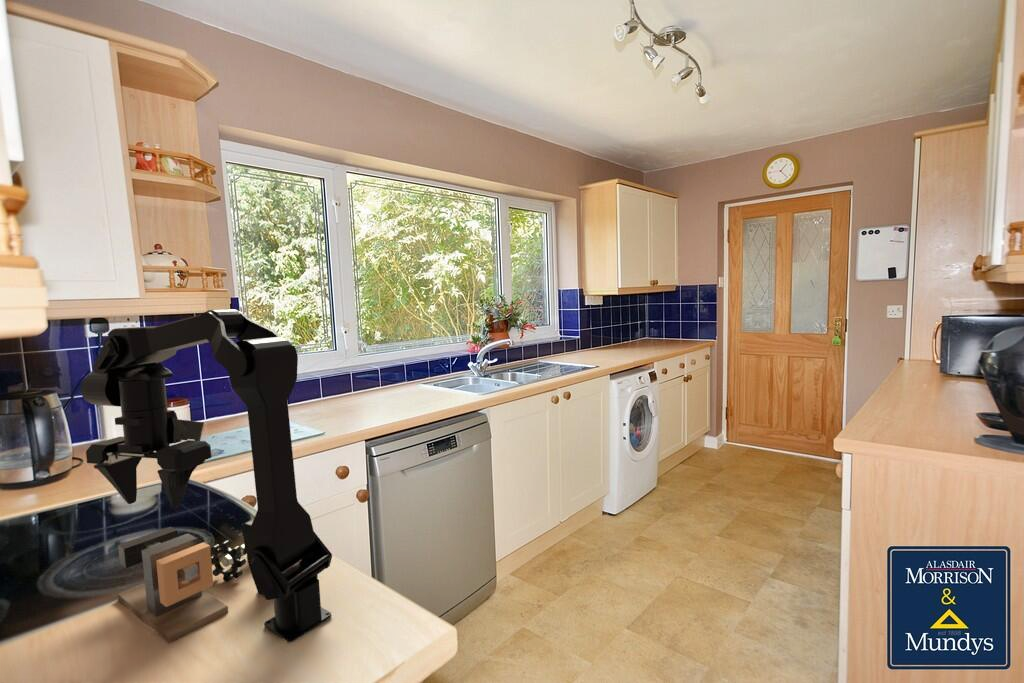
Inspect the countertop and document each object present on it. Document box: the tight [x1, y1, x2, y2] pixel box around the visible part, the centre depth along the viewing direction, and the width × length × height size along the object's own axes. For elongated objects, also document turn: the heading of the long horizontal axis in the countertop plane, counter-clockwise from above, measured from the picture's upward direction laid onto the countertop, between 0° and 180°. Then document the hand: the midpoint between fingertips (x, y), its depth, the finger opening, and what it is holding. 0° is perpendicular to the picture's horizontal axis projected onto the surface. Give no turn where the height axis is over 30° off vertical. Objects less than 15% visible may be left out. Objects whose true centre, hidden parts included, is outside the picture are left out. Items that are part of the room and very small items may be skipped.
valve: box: [210, 539, 247, 583], centre depth 85 cm, size 7×7×12 cm
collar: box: [156, 541, 214, 607], centre depth 70 cm, size 2×6×6 cm, turn 146°
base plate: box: [117, 582, 229, 644], centre depth 73 cm, size 18×8×1 cm, turn 56°
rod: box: [117, 526, 198, 581], centre depth 73 cm, size 16×7×3 cm, turn 56°
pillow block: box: [142, 533, 202, 617], centre depth 72 cm, size 3×6×9 cm, turn 145°
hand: (154, 505), depth 78 cm, fingers open, 9 cm apart
